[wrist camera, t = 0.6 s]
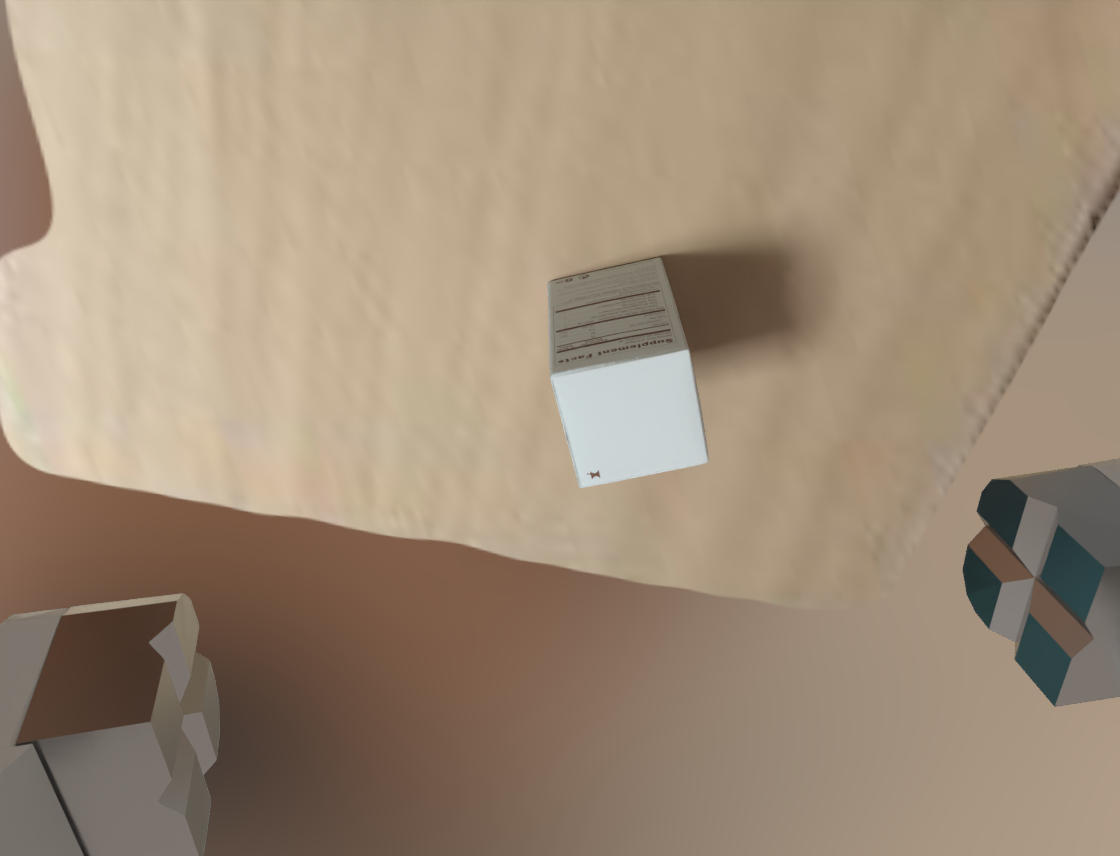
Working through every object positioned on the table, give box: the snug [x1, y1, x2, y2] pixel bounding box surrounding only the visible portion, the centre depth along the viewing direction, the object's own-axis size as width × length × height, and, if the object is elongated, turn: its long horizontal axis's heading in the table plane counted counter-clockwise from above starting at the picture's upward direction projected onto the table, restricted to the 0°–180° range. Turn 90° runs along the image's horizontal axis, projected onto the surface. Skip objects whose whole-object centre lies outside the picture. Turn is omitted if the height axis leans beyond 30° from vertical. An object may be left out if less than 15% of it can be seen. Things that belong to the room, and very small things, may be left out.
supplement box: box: [547, 257, 709, 488], centre depth 54 cm, size 7×7×13 cm
